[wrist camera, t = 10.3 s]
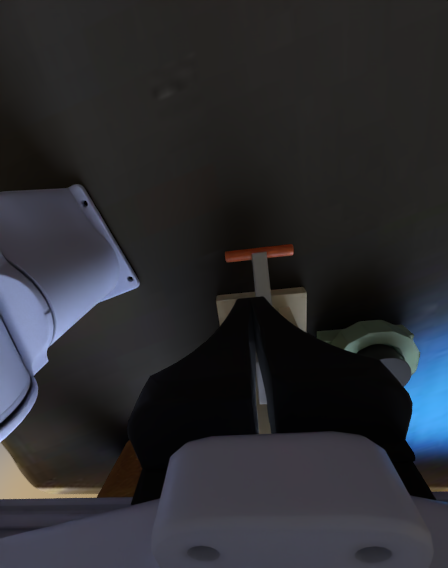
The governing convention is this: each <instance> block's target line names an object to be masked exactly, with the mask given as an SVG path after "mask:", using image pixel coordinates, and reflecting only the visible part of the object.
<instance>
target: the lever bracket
mask: <svg viewBox="0 0 448 568" xmlns="http://www.w3.org/2000/svg"><path fill="white" fill-rule="evenodd" d="M250 297H256V296H255V292H246V293H236V294H225V295H217V298H216V304H217V311H218V317H219V323H220V325H221V324H222V323H223V322H224V320H225V319H226V317H227V316H228V314H229V313H230V311H231V309H232V308H233V306H234V304H235V301H236V300H237V299H239V298H250ZM271 297H272V306H273V307H274V308H275V309H276V310H277V311H278V312H279V313H280V314H281V315H282V316H283V317H285V318H286V319H287V320H288V321H289V322H291V323H292V324H293V325H295V326H296V327H298V328H300V329H301V330H303V331H304V332H306V325H307V292H306V291H305V289H304V287H298V288H287V289H277V290H271ZM256 354H257V353H256Z"/></svg>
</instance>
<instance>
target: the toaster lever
mask: <svg viewBox="0 0 448 568" xmlns="http://www.w3.org/2000/svg"><path fill="white" fill-rule="evenodd" d="M293 253H294V248H293V245H292V244H287V245H278V246H269V247H260V248H252V249H243V250H234V251H226V252H225V259H226V262H236V261H245V260H252V267H253V277H254V287H255V296H256V297H260V296H263V297H265V298H266V299H267V301H268V302H269V303H270V304H271V305H272V297H271V288H270V279H269V270H268V260H267V258H273V257H282V256H291V255H293ZM256 379H257V389H258V398H259V404H267V399H266V393H265V388H264V384H263V380H262V375H261V371H260V367H259V362H258V358H257V354H256Z"/></svg>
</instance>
